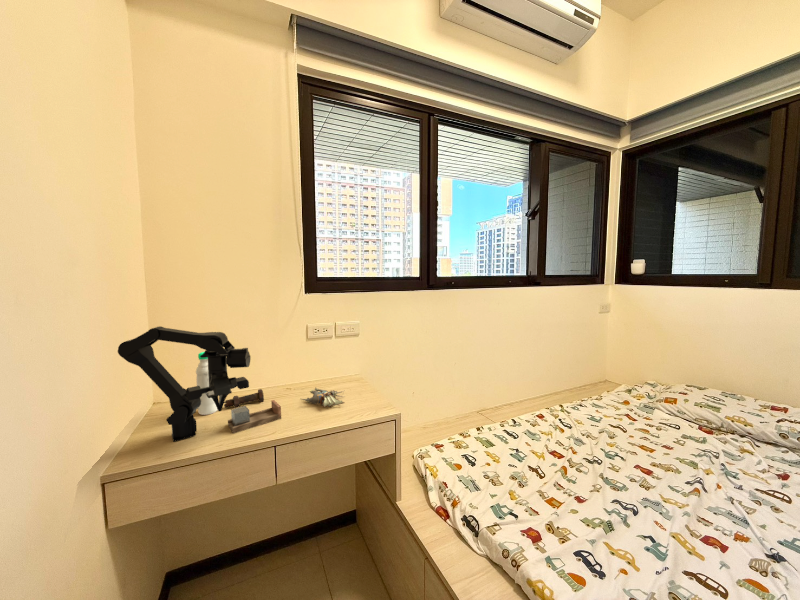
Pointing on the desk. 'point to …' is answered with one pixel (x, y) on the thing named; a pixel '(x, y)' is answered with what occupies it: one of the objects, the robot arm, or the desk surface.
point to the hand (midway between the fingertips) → (219, 411)
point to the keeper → (240, 415)
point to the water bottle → (203, 381)
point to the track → (259, 418)
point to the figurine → (324, 398)
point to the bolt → (244, 399)
